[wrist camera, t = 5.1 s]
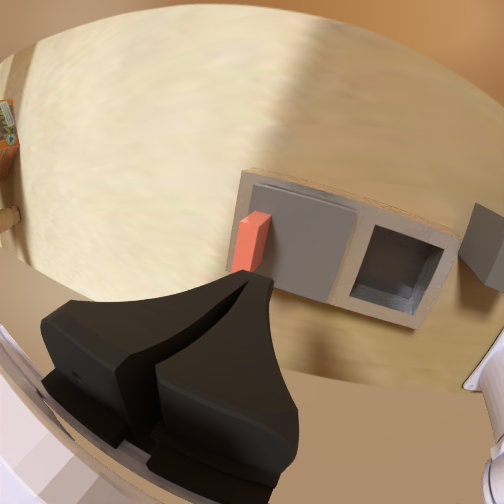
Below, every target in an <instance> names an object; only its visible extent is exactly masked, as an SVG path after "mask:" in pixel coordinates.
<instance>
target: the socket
mask: <svg viewBox="0 0 504 504" xmlns="http://www.w3.org/2000/svg"><path fill="white" fill-rule="evenodd" d="M255 183H258V184H263V185H267V186H271V187H275V188H279V189H283V190H286V191H290V192H294V193H298V194H302V195H305V196H309V197H312V198H316V199H320V200H323V201H326V202H330V203H333V204H337V205H340V206H343V207H347V208H350V209H353V210H356V212H357V214H356V217H355V220H354V224H353V227H352V230H351V233H350V237H349V240H348V243H347V246H346V249H345V252H344V255H343V258H342V261H341V264H340V267H339V269H338V272H337V275H336V278H335V281H334V283H333V286H332V289H331V292H330V294H329V297H328V300H327V302H326V303H328V304H331V305H334V306H338V307H341V308H344V309H348V310H351V311H354V312H358V313H361V314H364V315H368V316H371V317H375V318H378V319H381V320H385V321H388V322H392V323H395V324H399V325H403V326H406V327H410V328H413V329H417V330H419V328H420V327H421V325H422V323H423V321H424V320H425V318H426V316H427V314H428V313H429V311H430V309H431V307H432V305H433V303H434V301H435V299H436V297H437V295H438V293H439V291H440V289H441V287H442V285H443V283H444V281H445V279H446V277H447V275H448V272H449V270H450V268H451V266H452V263H453V261H454V259H455V256H456V254H457V251H458V249H459V246H460V244H461V241H462V239H461V238H460V237H459V236H458V235H456V234H455V233H454V232H453V231H452V230H451V229H449V228H447V227H445V226H442V225H440V224H437V223H435V222H432V221H430V220H427V219H425V218H422V217H419V216H417V215H414V214H411V213H409V212H406V211H403V210H400V209H398V208H395V207H392V206H389V205H386V204H383V203H380V202H377V201H374V200H371V199H368V198H365V197H362V196H359V195H355V194H352V193H349V192H346V191H342V190H339V189H335V188H332V187H328V186H325V185H321V184H318V183H314V182H310V181H307V180H303V179H299V178H295V177H291V176H287V175H283V174H279V173H275V172H270V171H266V170H262V169H257V168H251V169H247V170H242V173H241V178H240V184H239V190H238V196H237V202H236V208H235V214H234V220H233V226H232V233H231V239H230V245H229V252H228V258H227V265H226V271H228V272H231V271H232V265H233V259H234V253H235V247H236V241H237V235H238V229H239V223H240V221H241V220H243V219H244V218H246V217H247V216H248V211H249V205H250V200H251V194H252V189H253V184H255Z"/></svg>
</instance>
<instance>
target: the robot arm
mask: <svg viewBox="0 0 504 504" xmlns="http://www.w3.org/2000/svg"><path fill="white" fill-rule="evenodd" d="M274 283H275V282H274V281H273V279H271V278H268V277H265V276H262V275H259V274H256V273H253V272H250V271H246V270H243V269H242V270H239V271H237V272H235V273H232V274H230V275H228V276H225V277H223V278H221V279H218V280H216V281H213V282H211V283H208V284H205V285H202V286H200V287H197V288H194V289H191V290H188V291H185V292H181V293H177V294H173V295H169V296H164V297H159V298H153V299H145V300H138V301H127V302H90V301H77V300H70V301H68V302H67V303H65V304H64V305H62V306H61V307H59V308H58V309H57V310H55V311H54V312H52V313H51V314H49V315H48V316H47V317H45V318H44V319H42V321H41V326H40V328H41V334H42V337H43V340H44V343H45V345H46V348H47V350H48V352H49V355H50V357H51V359H52V361H53V364H54V366H55V369H54V370H53V371H52V372H50V373H49V374H48V375H47V376H46V375H45V374H44V373H43V372H42V371H41V370H40V369H39V368H38V367H37V366H36V365H35V364H34V362H33V361H32V360H31V359H30V358H29V357H28V356H27V355H26V354H25V352H24V351H23V350H22V349H21V348H20V347H19V345H18V344H17V343H16V342H15V341H14V339H13V338H12V337H11V336H10V335H9V333H8V332H7V331H6V329H5V328H4V327H3V325H2V324H1V323H0V504H164V503H162V502H160V501H158V500H156V499H155V498H153V497H151V496H149V495H148V494H146V493H144V492H143V491H141V490H139V489H138V488H136V487H134V486H133V485H131V484H130V483H128V482H127V481H125V480H124V479H123V478H121V477H120V476H118V475H117V474H115V473H114V472H113V471H111V470H110V469H108V468H107V467H106V466H104V465H103V464H101V463H100V462H99V461H97V460H96V459H95V458H94V457H93V456H91V455H90V454H89V453H87V452H86V451H85V450H84V449H83V448H82V447H80V446H79V445H78V444H77V443H76V442H75V440H74V439H73V438H72V437H71V436H70V434H69V433H68V432H67V431H66V430H65V429H64V428H63V426H62V425H61V424H60V422H59V421H58V420H57V418H56V417H55V415H54V413H53V412H52V411H51V410H50V408H49V407H48V406H47V405H46V404H45V403H44V401H45V402H46V403H47V404H48V405H49V406H50V407H51V408H52V409H53V410H54V411H55V412H56V413H57V414H58V415H60V417H62V418H63V419H64V420H65V421H66V422H67V423H68V424H69V425H70V426H72V427H73V428H74V429H75V430H76V431H77V432H79V433H80V434H81V435H82V436H83V437H85V438H86V439H87V440H88V441H90V442H91V443H92V444H93V445H95V446H96V447H97V448H99V449H100V450H101V451H103V452H104V453H106V454H107V455H108V456H110V457H111V458H113V459H114V460H115V461H117V462H118V463H120V464H121V465H123V466H124V467H126V468H128V469H129V470H131V471H132V472H134V473H136V474H137V475H139V476H141V477H142V478H144V479H146V480H148V481H149V482H151V483H153V484H155V485H157V486H158V487H160V488H162V489H164V490H166V491H168V492H170V493H172V494H174V495H176V496H178V497H180V498H183V499H185V500H187V501H189V502H191V503H194V504H269V503H268V501H269V499H270V496H271V494H272V491H273V488H275V487H276V486H277V483H278V480H279V478H280V475H281V473H282V472H283V471H284V470H285V469H286V468H287V467H288V466H289V465H290V464H291V463H292V462H293V460H294V459H295V457H296V454H297V450H298V442H299V420H298V409H297V407H296V405H295V403H294V401H293V400H292V398H291V395H290V393H289V391H288V389H287V387H286V384H285V382H284V380H283V377H282V375H281V372H280V368H279V365H278V362H277V359H276V356H275V352H274V348H273V343H272V338H271V332H270V322H269V302H270V298H271V294H272V290H273V287H274ZM463 387H464V389H468V390H476V391H482V393H483V396H484V399H485V403H486V406H487V410H488V413H489V417H490V421H491V425H492V429H493V434H494V438H495V443H496V445H495V446H494V447H493V448H491V449H490V452H491V458H490V459H489V460H488V461H487V462H486V464H485V467H484V470H483V473H482V476H481V484H480V487H481V496H482V500H483V503H484V504H504V329H503V330H502V332H501V333H500V335H499V337H498V338H497V340H496V341H495V343H494V344H493V346H492V347H491V349H490V350H489V352H488V353H487V354H486V356H485V357H484V359H483V360H482V361H481V363H480V364H479V365H478V367H477V368H476V369H475V370H474V372H473V373H472V374H471V376H470V377H469V378H468V379H467V380H466V382H465V383H464V384H463ZM43 400H44V401H43Z"/></svg>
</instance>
